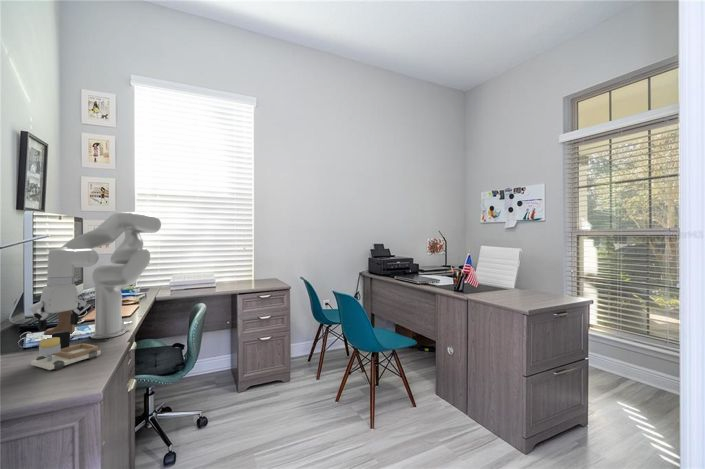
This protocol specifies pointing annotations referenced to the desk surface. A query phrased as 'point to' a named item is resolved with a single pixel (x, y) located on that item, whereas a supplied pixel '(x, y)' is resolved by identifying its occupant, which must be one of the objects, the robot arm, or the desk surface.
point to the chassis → (67, 356)
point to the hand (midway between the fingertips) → (58, 327)
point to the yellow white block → (49, 346)
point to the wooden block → (62, 324)
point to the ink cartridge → (63, 338)
